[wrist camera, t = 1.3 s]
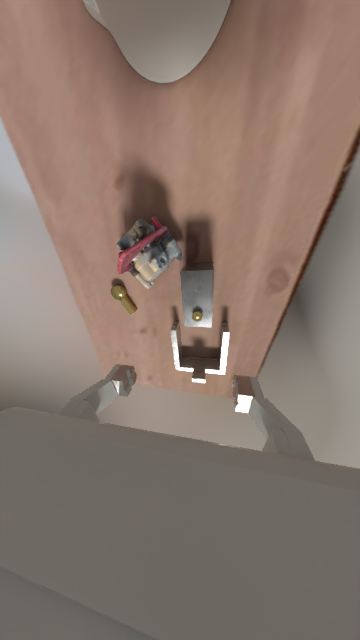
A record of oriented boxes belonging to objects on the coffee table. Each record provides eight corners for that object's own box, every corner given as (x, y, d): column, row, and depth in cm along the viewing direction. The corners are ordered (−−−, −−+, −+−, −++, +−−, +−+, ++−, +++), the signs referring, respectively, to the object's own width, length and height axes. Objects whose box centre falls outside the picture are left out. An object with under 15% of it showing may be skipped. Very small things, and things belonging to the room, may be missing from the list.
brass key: (111, 288, 34) (108, 290, 32) (121, 281, 32) (117, 283, 31) (130, 312, 36) (127, 315, 35) (139, 307, 35) (137, 310, 34)
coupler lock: (186, 263, 28) (179, 272, 21) (212, 262, 27) (213, 270, 20) (188, 309, 33) (183, 328, 26) (211, 310, 32) (211, 329, 25)
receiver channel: (174, 321, 35) (167, 338, 29) (227, 322, 33) (231, 341, 27) (178, 358, 41) (173, 379, 35) (223, 362, 39) (225, 385, 33)
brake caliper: (141, 184, 21) (152, 227, 15) (184, 237, 29) (201, 278, 24) (100, 239, 26) (96, 287, 20) (146, 271, 34) (154, 312, 28)
